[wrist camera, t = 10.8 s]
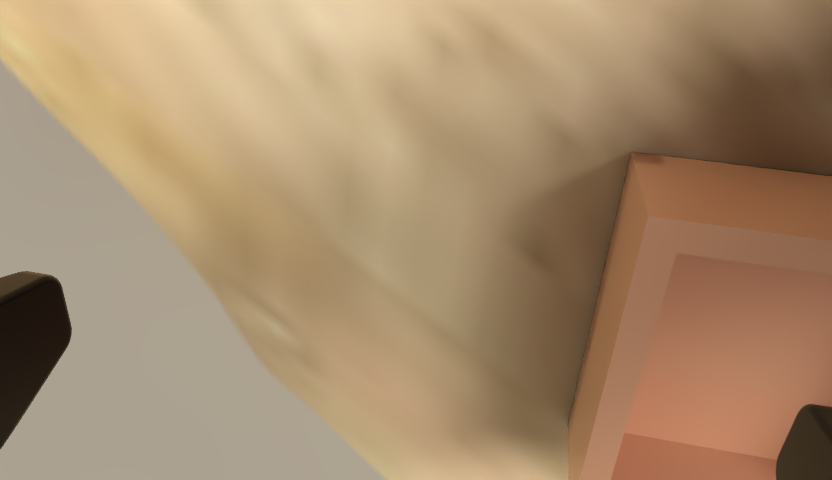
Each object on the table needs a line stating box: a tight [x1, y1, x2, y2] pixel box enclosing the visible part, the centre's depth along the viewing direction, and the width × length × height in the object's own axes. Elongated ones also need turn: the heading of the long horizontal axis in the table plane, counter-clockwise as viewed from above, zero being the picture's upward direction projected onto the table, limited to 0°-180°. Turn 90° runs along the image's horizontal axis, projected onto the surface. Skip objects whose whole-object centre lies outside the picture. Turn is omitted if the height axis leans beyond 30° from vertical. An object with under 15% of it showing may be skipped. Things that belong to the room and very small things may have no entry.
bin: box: [568, 152, 832, 480], centre depth 18 cm, size 10×10×4 cm
